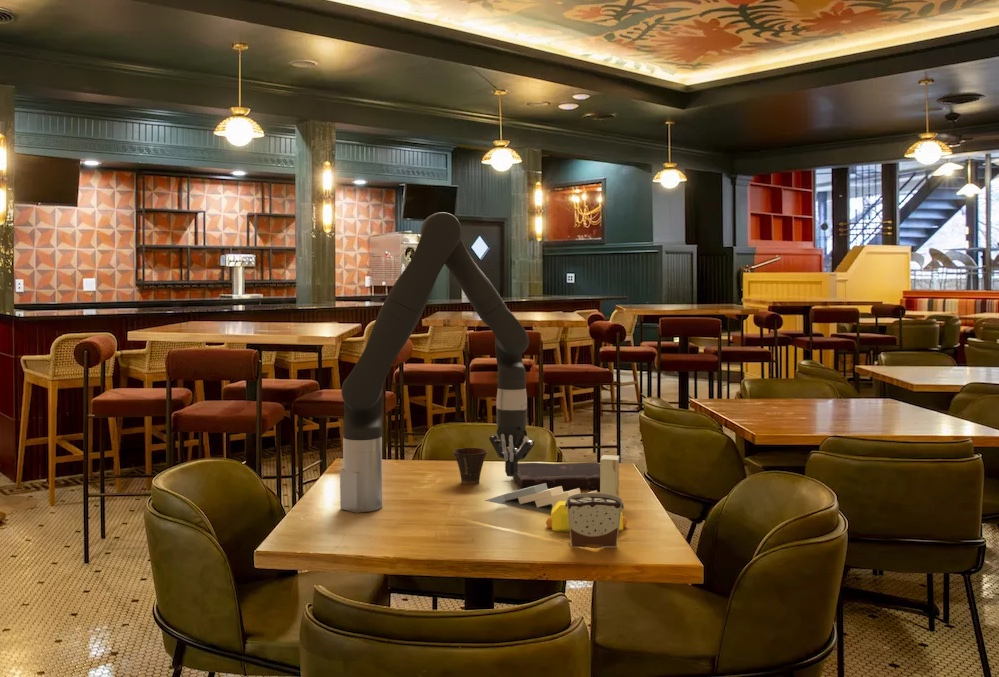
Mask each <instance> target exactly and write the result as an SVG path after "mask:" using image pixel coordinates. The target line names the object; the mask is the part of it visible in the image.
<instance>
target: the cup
mask: <svg viewBox="0 0 999 677" xmlns="http://www.w3.org/2000/svg"><path fill="white" fill-rule="evenodd" d="M487 454H488V450H487V449H485V448H480V447H461V448H456V449H454V450H453V455H454V458H455V459H456V463H457V466H458V470H459V474H460V483H461V484H463V485H467V486H471V485H472V486H473V485H479V484H480V479H481V473H482V470H483V469H482V468H483V465H484V461H485V458H486V455H487Z"/></svg>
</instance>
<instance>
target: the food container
mask: <svg viewBox="0 0 999 677" xmlns="http://www.w3.org/2000/svg"><path fill="white" fill-rule="evenodd" d="M566 507H567V508H568V518H569V528H570V531H569V536H570V545H571V547H588V548H589V547H591V548H593V549H594V547H592V546H591V545H597V547H596V548H598V549H599V548H601V549H602V548H603V549H605V548H617V547H618V541H619V539H618V538H619V532H620V531H619V524H620V515H621V512H622V509H623V510H625V505H624V502H623V499H622V498H621V497H620V496H619V497H617V496H614V495H610V494H603V493H600V492H597V493H588V492H583V493H581V494H575V495H571V496H569V497H568V498H567V501H566V503H565V508H564V510H565V509H566ZM589 545H590V546H589ZM571 547H570V548H571ZM591 548H590V549H591Z"/></svg>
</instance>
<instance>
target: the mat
mask: <svg viewBox="0 0 999 677" xmlns="http://www.w3.org/2000/svg"><path fill="white" fill-rule="evenodd" d="M503 495H504V494H501V495H498V496H495V497H492V498H491V497H490V498H488V499H486V500H485V501H486V502H490V503H496V504H499V505H505V506H511V507H514V508H519V509H524V510H530V511H534V512H538V513H543V514H549V515H551V511H552V508H553V507H552V504H548V505H545V506H541V507H538V508H537V506H536V503H535V501H537V500H535V501H531V502H527V503H523V504H520V503H519V499H518V498H515V499H511V500H507V501H505V500H504V496H503ZM539 500H540V499H539Z"/></svg>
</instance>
